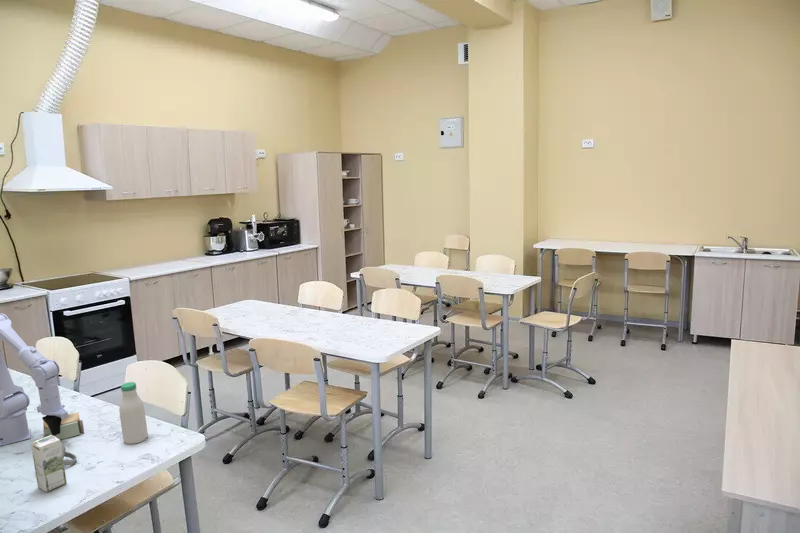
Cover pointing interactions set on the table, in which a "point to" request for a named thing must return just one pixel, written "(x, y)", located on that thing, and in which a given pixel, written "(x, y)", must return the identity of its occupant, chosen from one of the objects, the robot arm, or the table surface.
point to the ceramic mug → (67, 454)
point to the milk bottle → (132, 415)
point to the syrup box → (48, 463)
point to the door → (65, 431)
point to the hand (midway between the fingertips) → (56, 434)
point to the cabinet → (69, 421)
